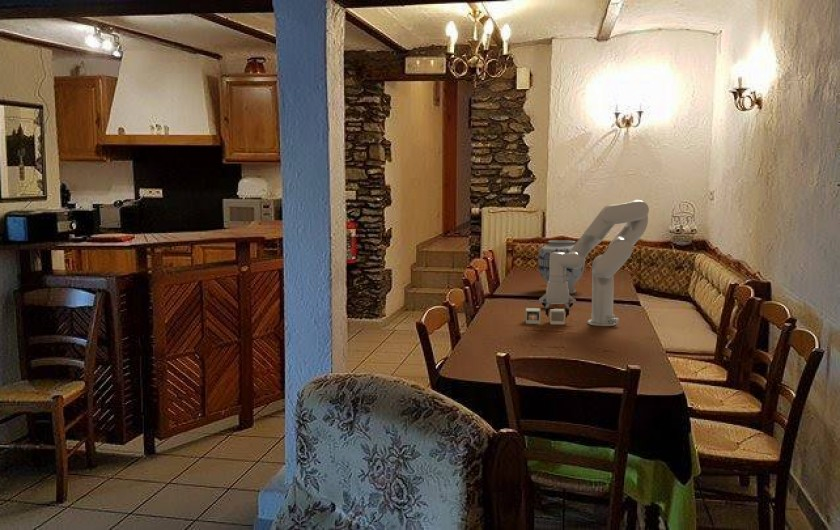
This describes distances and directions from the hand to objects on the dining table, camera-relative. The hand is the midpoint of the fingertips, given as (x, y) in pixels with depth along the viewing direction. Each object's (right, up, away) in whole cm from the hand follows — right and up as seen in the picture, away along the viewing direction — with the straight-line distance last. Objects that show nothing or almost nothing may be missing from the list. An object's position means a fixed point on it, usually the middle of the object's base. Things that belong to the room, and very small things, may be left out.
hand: (557, 316), depth 340 cm
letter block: (-11, -3, +2) cm, 11 cm away
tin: (+6, +1, +37) cm, 38 cm away
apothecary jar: (+19, +8, +91) cm, 94 cm away
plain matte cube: (-11, -3, +2) cm, 11 cm away
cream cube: (0, -3, 0) cm, 3 cm away
